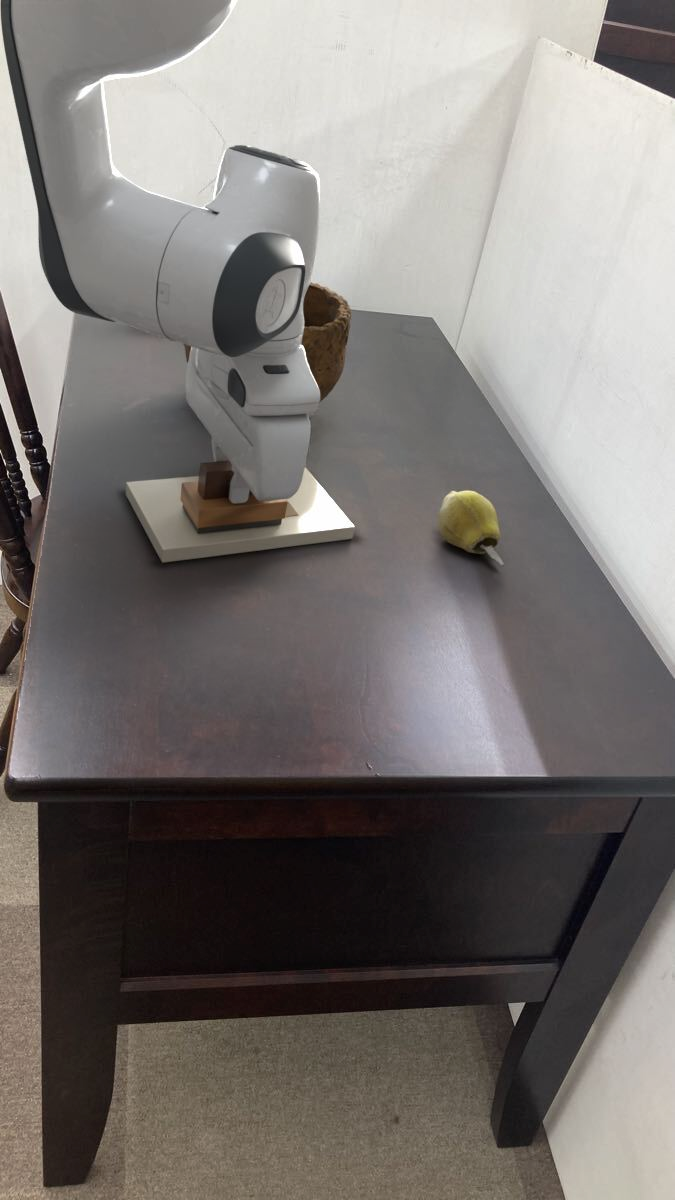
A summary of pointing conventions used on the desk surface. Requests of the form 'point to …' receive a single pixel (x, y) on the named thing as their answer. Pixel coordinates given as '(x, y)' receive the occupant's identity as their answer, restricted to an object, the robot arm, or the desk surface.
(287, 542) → the tile
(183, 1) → the robot arm
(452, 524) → the fruit
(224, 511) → the brush
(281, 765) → the desk surface
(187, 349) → the bowl
